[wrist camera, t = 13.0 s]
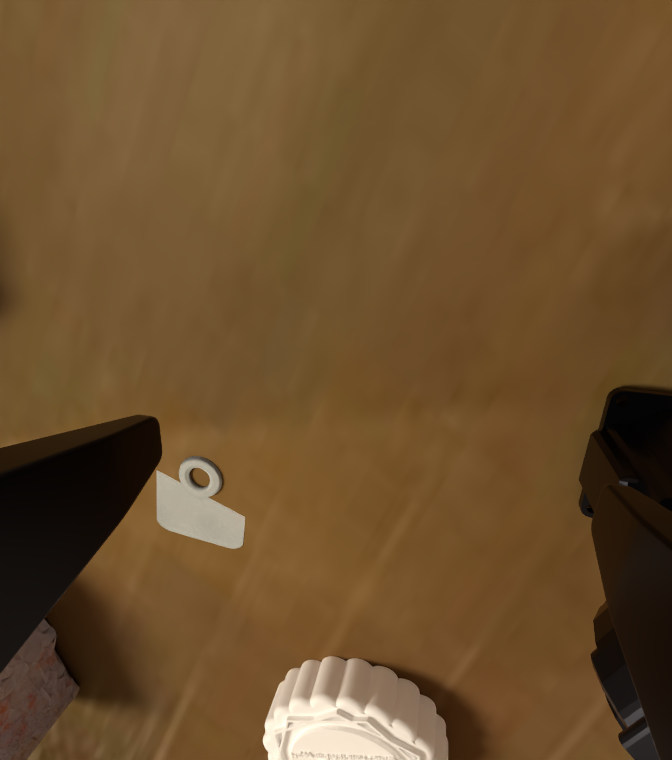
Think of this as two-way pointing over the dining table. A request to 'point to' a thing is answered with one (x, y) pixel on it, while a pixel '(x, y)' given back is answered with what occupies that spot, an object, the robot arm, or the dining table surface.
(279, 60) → the dining table surface
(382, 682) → the mooncake
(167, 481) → the mounting bracket
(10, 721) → the food item
